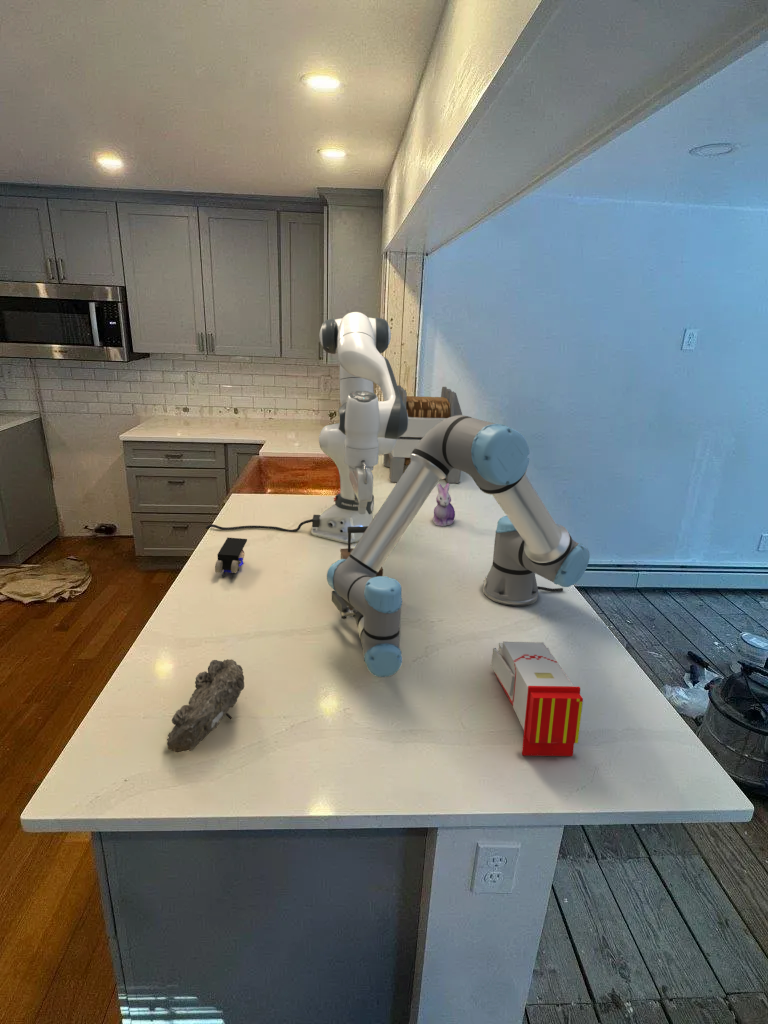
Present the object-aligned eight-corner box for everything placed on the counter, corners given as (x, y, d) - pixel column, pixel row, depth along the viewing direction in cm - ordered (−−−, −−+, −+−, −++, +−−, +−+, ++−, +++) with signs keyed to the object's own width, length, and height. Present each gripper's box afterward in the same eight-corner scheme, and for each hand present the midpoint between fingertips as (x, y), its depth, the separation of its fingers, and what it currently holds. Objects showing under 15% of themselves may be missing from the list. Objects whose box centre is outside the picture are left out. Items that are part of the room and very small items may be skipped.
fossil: (192, 660, 117) (244, 628, 112) (224, 691, 120) (276, 661, 115) (142, 746, 98) (202, 712, 93) (182, 779, 101) (242, 748, 96)
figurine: (440, 528, 206) (443, 489, 201) (425, 519, 214) (428, 481, 209) (461, 525, 210) (465, 486, 205) (446, 516, 219) (449, 478, 214)
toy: (540, 624, 127) (592, 694, 97) (535, 679, 129) (584, 763, 100) (486, 623, 126) (522, 693, 97) (482, 678, 129) (516, 762, 100)
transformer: (382, 463, 289) (386, 382, 275) (445, 464, 293) (451, 384, 279) (390, 482, 257) (394, 392, 243) (460, 483, 261) (468, 394, 247)
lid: (340, 551, 156) (340, 524, 153) (374, 551, 158) (376, 523, 155) (345, 574, 143) (346, 544, 140) (383, 572, 145) (384, 543, 142)
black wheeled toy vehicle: (238, 584, 162) (249, 557, 175) (236, 562, 158) (247, 536, 172) (215, 584, 161) (227, 556, 175) (212, 561, 158) (225, 535, 171)
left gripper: (379, 466, 136) (377, 520, 141) (367, 447, 155) (366, 495, 160) (353, 466, 135) (352, 521, 140) (345, 447, 154) (344, 495, 159)
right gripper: (324, 642, 128) (319, 594, 149) (420, 636, 132) (402, 591, 152) (325, 612, 125) (319, 569, 146) (423, 608, 129) (403, 566, 150)
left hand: (359, 507), depth 150 cm, fingers open, 8 cm apart
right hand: (361, 580), depth 149 cm, fingers closed on chest, 10 cm apart
